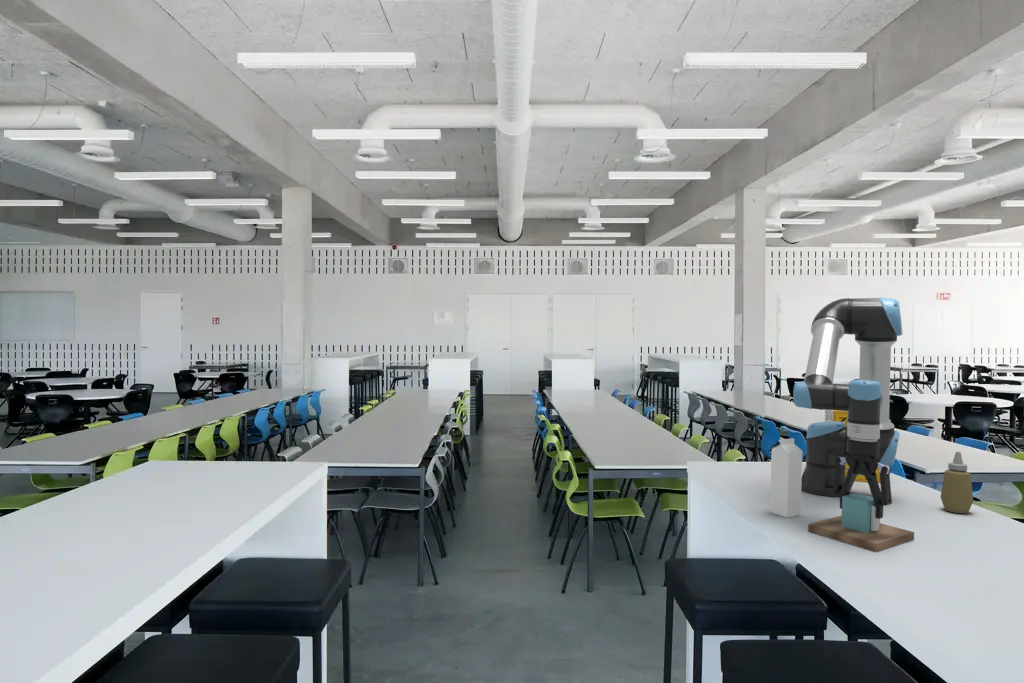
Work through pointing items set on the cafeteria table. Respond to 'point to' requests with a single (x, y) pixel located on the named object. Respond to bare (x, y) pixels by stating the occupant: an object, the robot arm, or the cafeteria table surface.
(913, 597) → the cafeteria table surface
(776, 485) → the milk
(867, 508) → the teal block
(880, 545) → the walnut stand
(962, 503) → the squeeze bottle
